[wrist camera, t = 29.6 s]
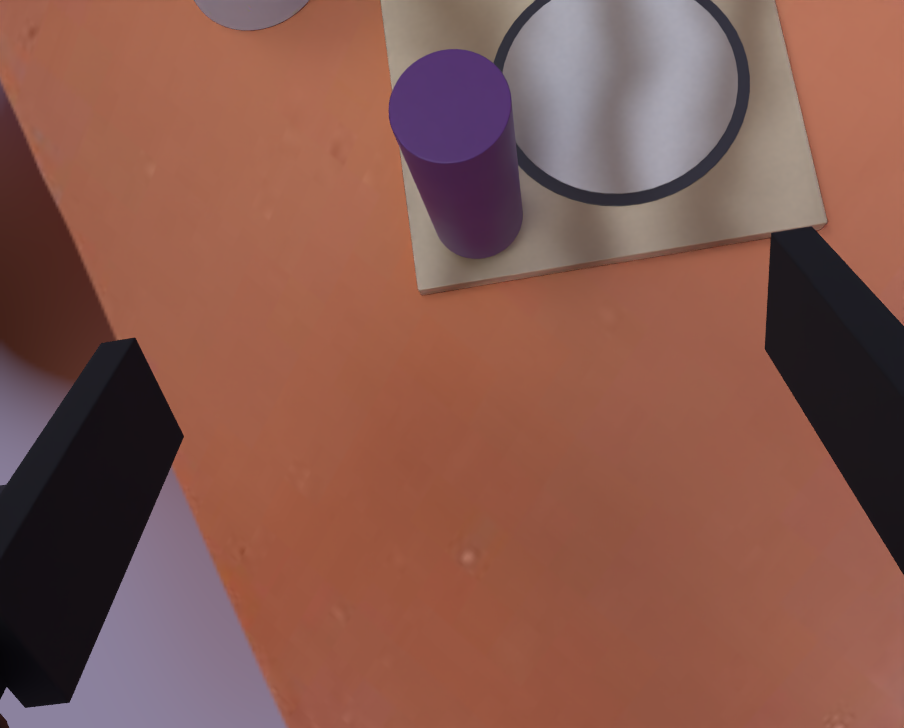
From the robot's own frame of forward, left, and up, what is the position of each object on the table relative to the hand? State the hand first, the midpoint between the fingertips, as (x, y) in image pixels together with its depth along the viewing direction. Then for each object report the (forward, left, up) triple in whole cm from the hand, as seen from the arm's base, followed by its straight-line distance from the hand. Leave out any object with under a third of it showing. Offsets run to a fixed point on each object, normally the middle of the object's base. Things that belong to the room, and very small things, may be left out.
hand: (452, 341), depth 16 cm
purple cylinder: (0, +11, -21) cm, 24 cm away
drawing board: (+7, +17, -22) cm, 29 cm away
